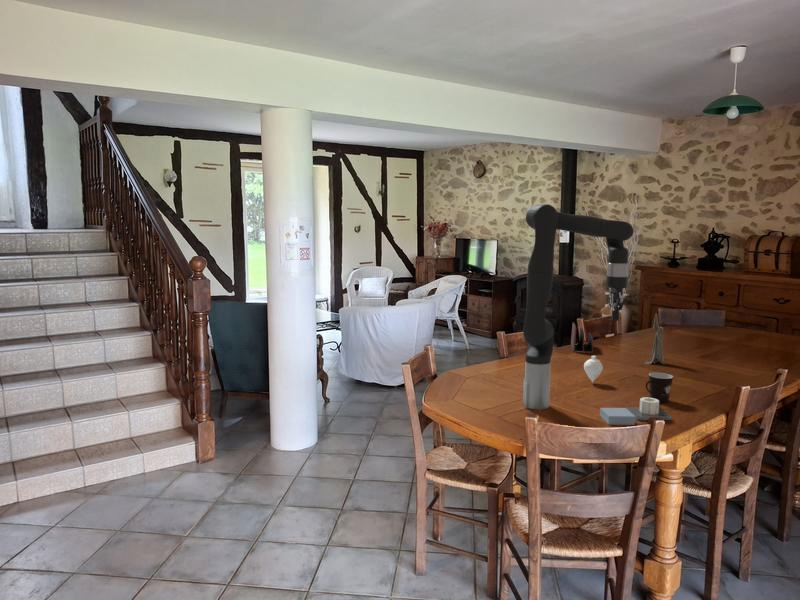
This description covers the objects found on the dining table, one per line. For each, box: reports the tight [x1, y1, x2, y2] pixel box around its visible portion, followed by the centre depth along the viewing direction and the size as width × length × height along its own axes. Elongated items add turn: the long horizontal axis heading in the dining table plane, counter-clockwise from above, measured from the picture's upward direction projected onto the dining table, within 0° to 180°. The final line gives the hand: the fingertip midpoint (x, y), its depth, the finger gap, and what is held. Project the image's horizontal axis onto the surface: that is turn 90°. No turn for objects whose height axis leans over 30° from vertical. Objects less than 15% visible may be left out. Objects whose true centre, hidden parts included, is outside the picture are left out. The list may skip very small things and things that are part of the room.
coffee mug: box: [645, 372, 674, 404], centre depth 220 cm, size 12×9×10 cm
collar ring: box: [639, 396, 660, 415], centre depth 203 cm, size 6×6×4 cm
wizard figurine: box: [644, 313, 666, 365], centre depth 278 cm, size 10×8×25 cm
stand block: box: [599, 407, 636, 426], centre depth 199 cm, size 9×9×3 cm
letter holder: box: [570, 322, 594, 354], centre depth 311 cm, size 10×20×14 cm, turn 167°
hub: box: [626, 406, 673, 422], centre depth 203 cm, size 12×10×5 cm
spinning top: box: [583, 355, 604, 384], centre depth 244 cm, size 8×8×12 cm
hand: (614, 320), depth 215 cm, fingers closed
